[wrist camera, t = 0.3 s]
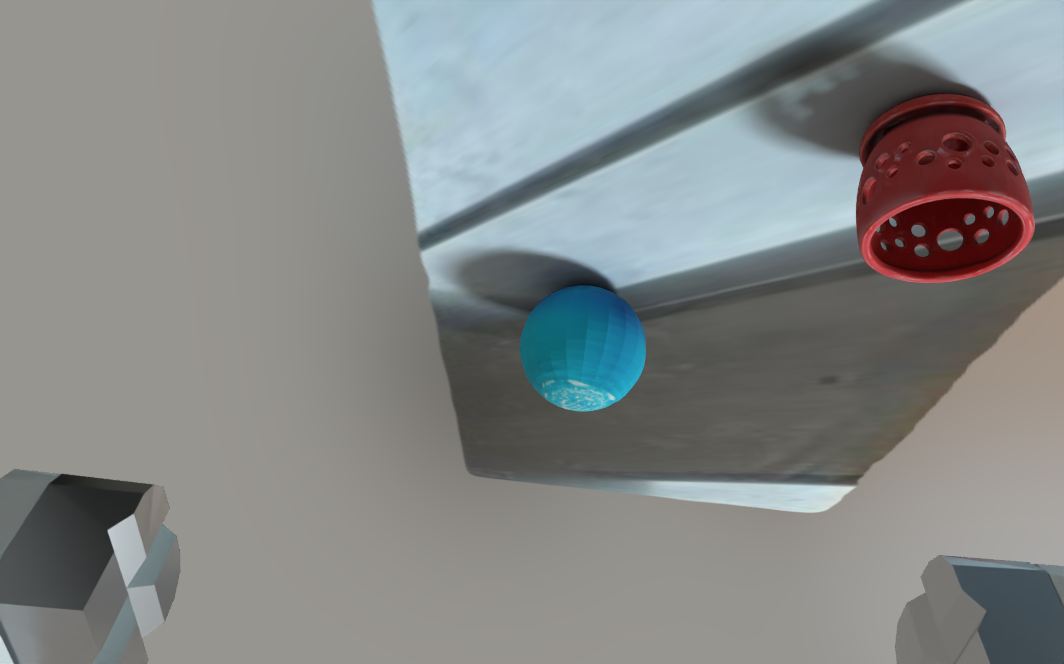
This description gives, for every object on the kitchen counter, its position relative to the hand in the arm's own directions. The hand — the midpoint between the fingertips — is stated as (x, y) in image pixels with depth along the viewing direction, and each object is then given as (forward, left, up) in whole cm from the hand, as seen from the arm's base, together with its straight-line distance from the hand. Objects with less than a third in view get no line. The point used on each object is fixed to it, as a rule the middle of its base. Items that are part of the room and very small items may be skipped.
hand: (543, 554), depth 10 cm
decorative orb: (+82, -36, -53) cm, 104 cm away
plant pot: (+61, +4, -53) cm, 81 cm away
